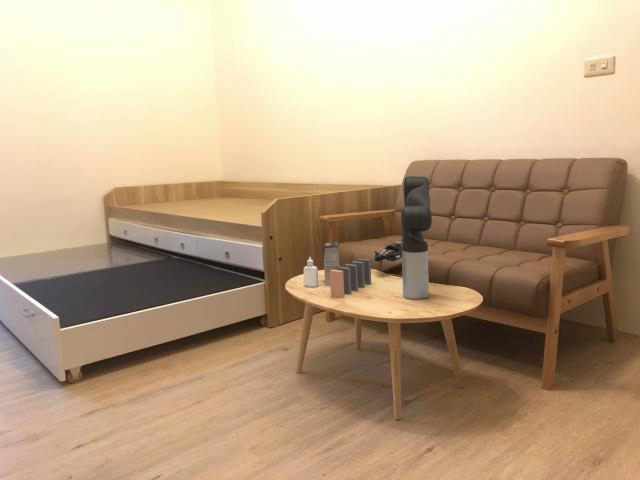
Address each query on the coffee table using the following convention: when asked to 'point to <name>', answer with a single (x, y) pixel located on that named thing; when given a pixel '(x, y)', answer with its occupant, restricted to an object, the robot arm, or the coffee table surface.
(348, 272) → the domino
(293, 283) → the coffee table surface
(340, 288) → the domino
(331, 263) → the coffee box
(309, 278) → the eye dropper bottle
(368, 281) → the domino
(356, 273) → the domino
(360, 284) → the domino
